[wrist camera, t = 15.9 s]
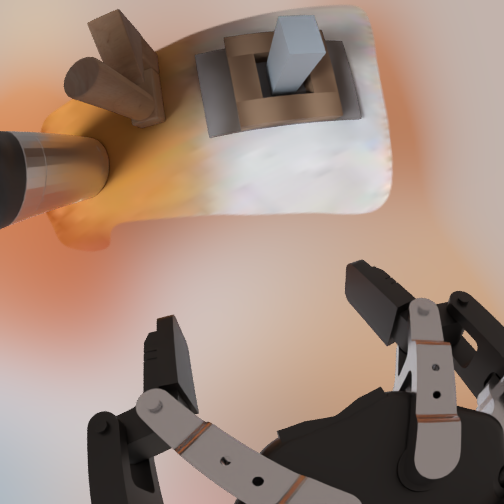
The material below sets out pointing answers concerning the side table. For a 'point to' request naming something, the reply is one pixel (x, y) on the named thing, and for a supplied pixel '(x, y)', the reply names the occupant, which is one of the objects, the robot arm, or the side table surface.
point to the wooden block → (119, 73)
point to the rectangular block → (293, 53)
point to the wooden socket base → (258, 91)
